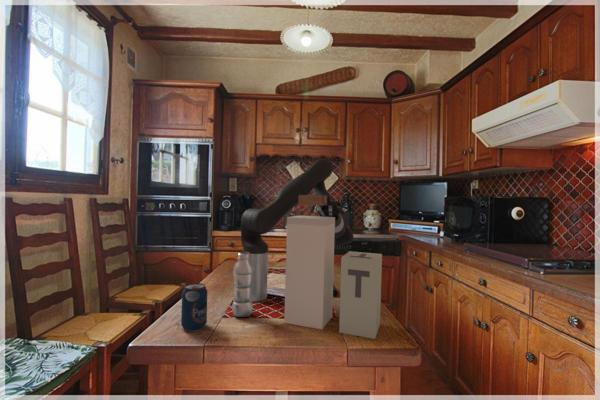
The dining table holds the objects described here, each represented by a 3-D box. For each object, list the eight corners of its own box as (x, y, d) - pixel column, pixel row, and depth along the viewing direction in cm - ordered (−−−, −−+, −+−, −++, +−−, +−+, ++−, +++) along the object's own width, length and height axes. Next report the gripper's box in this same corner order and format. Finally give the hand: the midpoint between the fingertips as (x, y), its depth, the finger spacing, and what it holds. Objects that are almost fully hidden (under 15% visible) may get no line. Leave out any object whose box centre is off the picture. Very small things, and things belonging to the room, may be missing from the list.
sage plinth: (347, 319, 102) (349, 251, 102) (379, 324, 99) (382, 253, 98) (339, 332, 92) (341, 256, 92) (375, 339, 88) (377, 260, 88)
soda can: (197, 334, 88) (198, 290, 88) (175, 330, 90) (176, 287, 90) (211, 324, 95) (212, 283, 95) (191, 321, 97) (192, 281, 97)
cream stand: (297, 311, 108) (300, 215, 108) (332, 316, 104) (335, 217, 104) (284, 322, 98) (287, 217, 98) (322, 329, 94) (325, 219, 93)
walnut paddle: (316, 203, 116) (316, 195, 116) (335, 204, 114) (335, 195, 113) (298, 204, 99) (298, 194, 99) (320, 205, 97) (320, 195, 97)
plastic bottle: (235, 321, 98) (236, 255, 98) (229, 313, 104) (230, 251, 104) (255, 317, 101) (257, 254, 101) (248, 310, 107) (250, 250, 107)
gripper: (316, 210, 128) (304, 187, 114) (351, 211, 123) (343, 187, 109) (313, 227, 124) (299, 206, 110) (349, 229, 119) (340, 207, 105)
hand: (321, 197), depth 110 cm, fingers closed on walnut paddle, 3 cm apart
